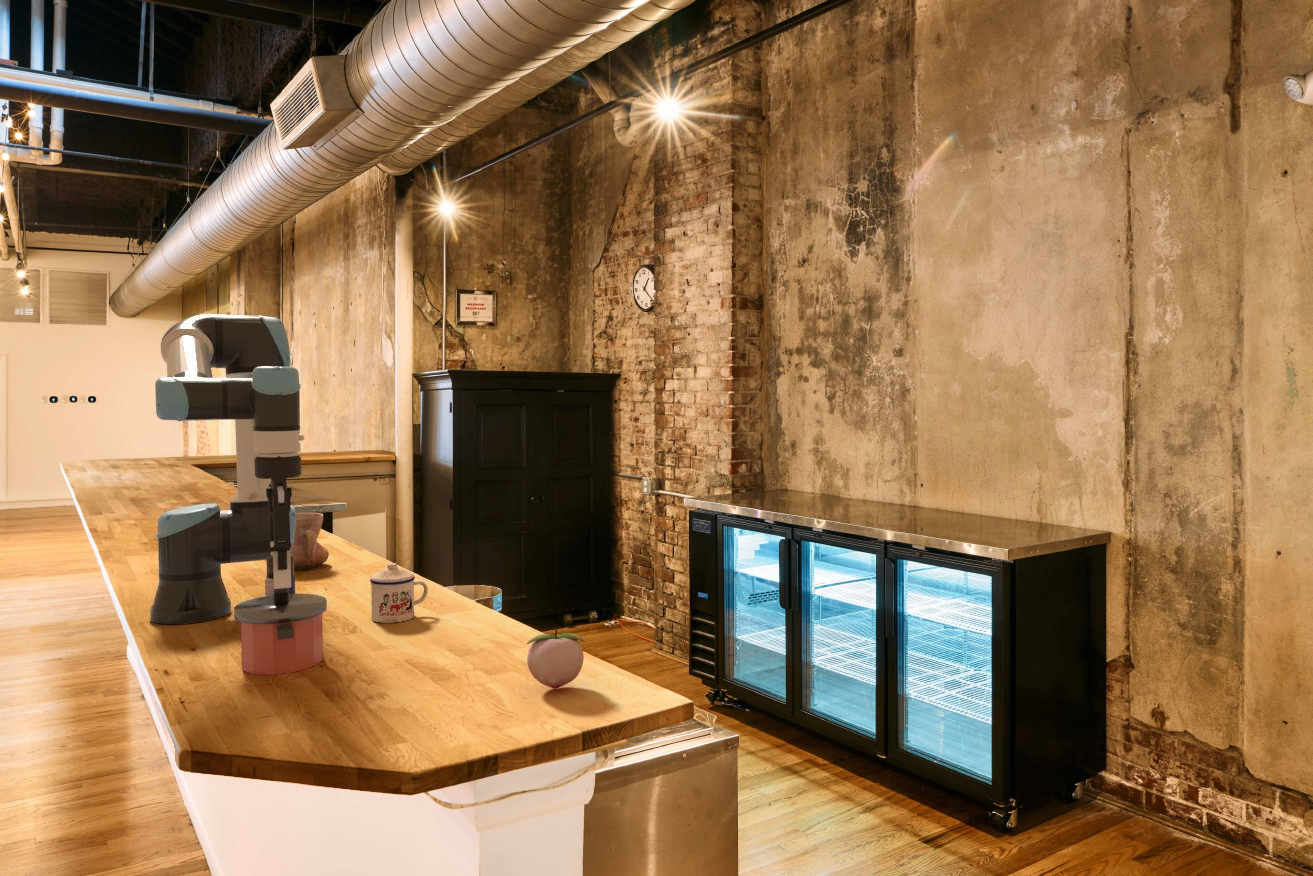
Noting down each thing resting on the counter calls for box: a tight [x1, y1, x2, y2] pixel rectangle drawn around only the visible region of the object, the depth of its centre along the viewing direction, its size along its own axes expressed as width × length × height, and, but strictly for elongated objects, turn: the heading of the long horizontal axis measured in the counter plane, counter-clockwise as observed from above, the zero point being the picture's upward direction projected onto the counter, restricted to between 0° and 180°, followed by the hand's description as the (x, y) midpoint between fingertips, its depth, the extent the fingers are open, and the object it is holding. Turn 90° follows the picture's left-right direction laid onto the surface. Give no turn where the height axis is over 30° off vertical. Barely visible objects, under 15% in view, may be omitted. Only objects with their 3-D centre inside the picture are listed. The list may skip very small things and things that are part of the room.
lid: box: [233, 554, 328, 624], centre depth 150 cm, size 15×15×10 cm
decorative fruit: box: [526, 627, 586, 689], centre depth 138 cm, size 9×8×10 cm
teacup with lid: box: [369, 562, 429, 624], centre depth 181 cm, size 12×9×12 cm
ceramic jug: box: [290, 512, 330, 570], centre depth 230 cm, size 18×14×14 cm
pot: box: [240, 613, 324, 676], centre depth 151 cm, size 21×13×9 cm, turn 27°
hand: (280, 582), depth 150 cm, fingers open, 9 cm apart
